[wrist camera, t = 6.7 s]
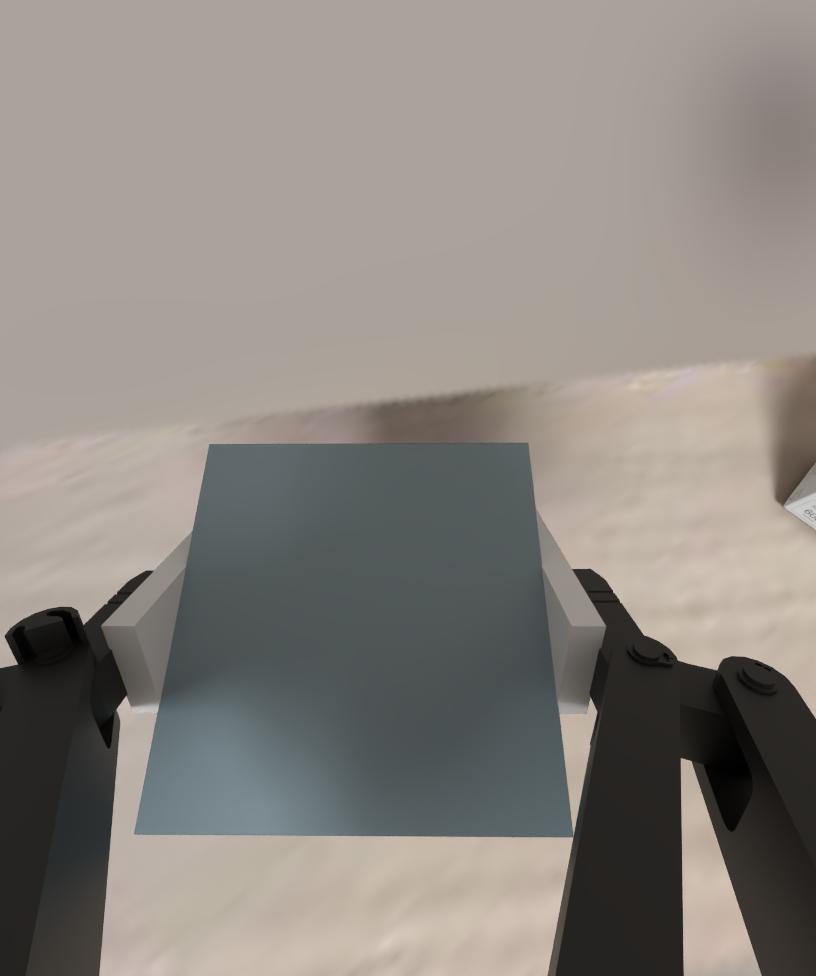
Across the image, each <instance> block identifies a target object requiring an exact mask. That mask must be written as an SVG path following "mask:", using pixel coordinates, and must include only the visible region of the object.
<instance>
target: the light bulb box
mask: <svg viewBox="0 0 816 976" xmlns="http://www.w3.org/2000/svg"><path fill="white" fill-rule="evenodd" d="M783 507H784V508H785V509H787V510H788V511H790V512H791V513H792V514H794V515H795V516H797V517H798V518H799V519H801V520H802V521H804V522H805V523H806V524H808V525H809V526H811V527H812V528H813V529H815V530H816V462H815V464H814V465H813V466H812V468H811V469H810V470H809V472H808V473H807V474H806V476H805V477H804V478H803V480H802V481H801V482H800V484H799V485H798V486H797V488H796V489H795V490H794V492H793V493H792V494H791V496H790V497H789V498H788V500H787V501H786V502H785V504H784V506H783Z"/></svg>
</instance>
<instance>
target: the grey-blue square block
mask: <svg viewBox="0 0 816 976" xmlns="http://www.w3.org/2000/svg"><path fill="white" fill-rule="evenodd" d="M186 565H187V566H186V571H185V576H184V581H183V586H182V591H181V597H180V602H179V607H178V612H177V617H176V623H175V628H174V633H173V638H172V643H171V648H170V654H169V659H168V664H167V669H166V674H165V680H164V685H163V690H162V695H161V700H160V703H159V708H158V713H157V718H156V724H155V729H154V734H153V739H152V744H151V749H150V755H149V760H148V765H147V770H146V775H145V780H144V786H143V791H142V796H141V801H140V806H139V811H138V817H137V822H136V827H135V832H134V834H143V835H296V836H450V837H573V829H572V821H571V812H570V803H569V795H568V786H567V777H566V768H565V760H564V751H563V742H562V734H561V725H560V716H559V708H558V704H557V696H556V687H555V678H554V669H553V660H552V652H551V643H550V634H549V625H548V617H547V608H546V599H545V590H544V581H543V573H542V559H541V551H540V542H539V533H538V525H537V516H536V507H535V498H534V490H533V481H532V472H531V464H530V455H529V446H528V443H397V444H209V450H208V455H207V460H206V465H205V470H204V475H203V481H202V486H201V491H200V496H199V501H198V506H197V512H196V517H195V522H194V527H193V532H192V537H191V543H190V548H189V553H188V558H187V563H186Z"/></svg>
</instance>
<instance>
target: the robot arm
mask: <svg viewBox="0 0 816 976" xmlns="http://www.w3.org/2000/svg"><path fill="white" fill-rule="evenodd" d="M536 516H537V525H538V533H539V542H540V551H541V559H542V573H543V581H544V590H545V599H546V608H547V617H548V625H549V634H550V643H551V652H552V660H553V669H554V678H555V687H556V696H557V704H558V708H559V714H587V710H588V706H589V701H590V697H591V699H592V701H593V703H594V705H595V707H596V710H597V712H598V713H597V717H596V721H595V725H594V730H593V734H592V738H591V742H590V745H591V747H590V753H589V758H588V763H587V769H586V774H585V779H584V785H583V790H582V795H581V801H580V806H579V811H578V817H577V822H576V827H575V833H574V838H573V843H572V849H571V854H570V859H569V865H568V870H567V875H566V881H565V886H564V891H563V897H562V902H561V907H560V913H559V918H558V923H557V929H556V934H555V939H554V945H553V950H552V955H551V961H550V966H549V971H548V976H684V972H683V901H682V830H681V758H683V759H687V760H690V761H692V764H693V767H694V770H695V773H696V776H697V779H698V782H699V785H700V788H701V791H702V794H703V797H704V800H705V803H706V806H707V810H708V813H709V816H710V819H711V822H712V825H713V828H714V831H715V834H716V837H717V840H718V843H719V846H720V849H721V852H722V855H723V858H724V861H725V865H726V868H727V871H728V874H729V877H730V880H731V883H732V886H733V889H734V892H735V895H736V898H737V901H738V904H739V907H740V910H741V913H742V916H743V920H744V923H745V926H746V929H747V932H748V935H749V938H750V941H751V944H752V947H753V950H754V953H755V956H756V959H757V962H758V965H759V968H760V971H761V975H762V976H816V719H815V717H814V716H813V714H812V713H811V711H810V709H809V708H808V706H807V705H806V703H805V702H804V700H803V699H802V697H801V696H800V694H799V693H798V691H797V690H796V688H795V687H794V686H793V685H792V683H791V682H790V681H789V680H788V679H787V678H786V677H785V676H784V675H782V674H781V673H779V672H778V671H777V670H775V669H774V668H772V667H770V666H768V665H766V664H764V663H762V662H759V661H757V660H753V659H750V658H746V657H736V656H731V657H728V658H725V659H723V660H722V662H721V663H720V665H719V668H718V670H712V669H708V668H704V667H699V666H695V665H691V664H687V663H684V662H680V661H678V660H677V657H676V656H675V655H674V654H673V653H672V651H671V650H670V649H669V648H668V647H666V646H665V645H663V644H662V643H660V642H659V641H657V640H654V639H652V638H650V637H647V636H644V635H643V633H642V632H641V631H640V629H639V628H638V626H637V625H636V623H635V622H634V621H633V619H632V618H631V616H630V615H629V613H628V612H627V610H626V609H625V608H624V606H623V605H622V603H620V600H619V599H618V598H617V596H616V595H615V593H613V590H612V589H611V587H610V586H609V585H608V583H607V582H606V580H605V579H604V578H602V577H601V576H600V575H598V574H597V573H595V572H594V571H593V570H591V569H572V568H571V567H570V565H569V563H568V562H567V560H566V558H565V557H564V555H563V553H562V552H561V550H560V548H559V547H558V545H557V543H556V542H555V540H554V538H553V537H552V535H551V533H550V532H549V530H548V528H547V527H546V525H545V523H544V522H543V520H542V518H541V517H540V515H539V513H538V512H537V510H536ZM192 532H193V531H192ZM192 532H191V533H190V534H189V535H188V536H187V537H186V538H185V539H184V540H183V541H182V543H181V544H180V545H179V546H178V547H177V548H176V549H175V550H174V551H173V552H172V553H171V554H170V555H169V556H168V557H167V558H166V559H165V560H164V561H163V562H162V563H161V564H160V565H159V566H158V567H157V568H156V569H155V570H154V571H145V572H143V573H141V574H140V575H138V576H136V577H135V578H133V579H131V580H130V581H128V582H127V583H126V584H125V585H124V586H123V587H122V588H121V589H120V590H119V591H118V592H117V595H114V596H113V597H112V598H111V599H110V600H109V601H108V604H105V605H104V606H103V607H102V608H101V609H100V610H99V611H98V612H97V613H96V614H95V615H94V616H93V617H92V618H91V619H90V620H89V621H88V622H86V623H85V624H84V625H83V623H82V620H81V618H80V615H79V613H78V610H76V609H74V608H72V607H57V608H51V609H47V610H44V611H41V612H38V613H35V614H33V615H31V616H29V617H27V618H25V619H23V620H21V621H20V622H18V623H17V624H16V625H14V626H13V627H12V628H10V630H9V631H8V632H7V634H6V635H5V638H6V640H7V642H8V644H9V646H10V648H11V650H12V653H13V655H14V657H15V659H16V661H17V663H18V665H14V666H9V667H5V668H0V976H99V971H100V959H101V947H102V935H103V923H104V911H105V899H106V886H107V874H108V862H109V850H110V838H111V826H112V814H113V802H114V790H115V778H116V766H117V754H118V742H119V730H120V719H119V715H118V713H117V710H116V709H117V708H118V706H119V705H120V704H121V702H122V701H123V699H124V698H125V697H126V695H127V698H128V701H129V703H130V706H131V709H132V711H133V712H158V708H159V703H160V700H161V695H162V690H163V685H164V680H165V674H166V669H167V664H168V659H169V654H170V648H171V643H172V638H173V633H174V628H175V623H176V617H177V612H178V607H179V602H180V597H181V591H182V586H183V581H184V576H185V571H186V566H187V565H186V563H187V558H188V553H189V548H190V543H191V537H192Z"/></svg>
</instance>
